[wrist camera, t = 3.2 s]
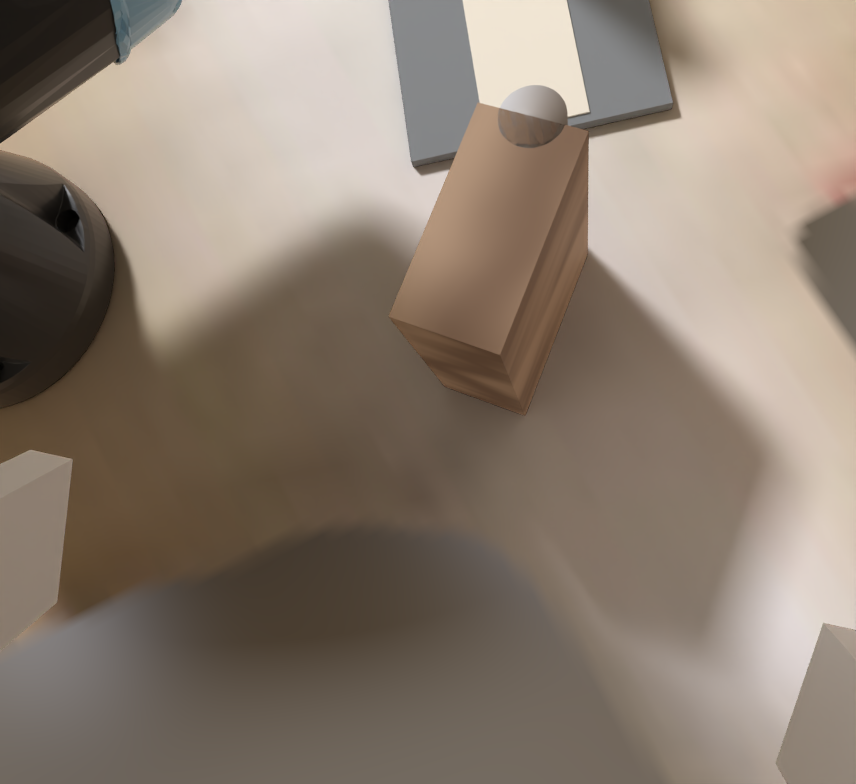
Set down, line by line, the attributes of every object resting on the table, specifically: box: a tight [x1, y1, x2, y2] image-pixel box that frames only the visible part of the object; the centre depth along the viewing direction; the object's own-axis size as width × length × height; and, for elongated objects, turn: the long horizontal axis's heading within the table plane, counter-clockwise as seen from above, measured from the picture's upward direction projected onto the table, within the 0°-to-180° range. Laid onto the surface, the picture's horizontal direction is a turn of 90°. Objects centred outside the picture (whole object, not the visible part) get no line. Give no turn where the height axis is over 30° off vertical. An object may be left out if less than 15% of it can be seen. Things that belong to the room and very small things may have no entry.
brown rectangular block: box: [388, 85, 589, 416], centre depth 34 cm, size 4×10×12 cm, turn 157°
